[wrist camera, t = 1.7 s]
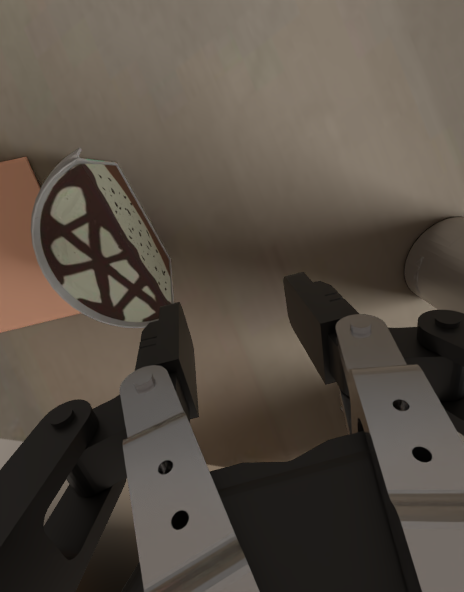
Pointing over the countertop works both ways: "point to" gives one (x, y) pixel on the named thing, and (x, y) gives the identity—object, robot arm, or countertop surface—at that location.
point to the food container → (100, 244)
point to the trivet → (22, 254)
